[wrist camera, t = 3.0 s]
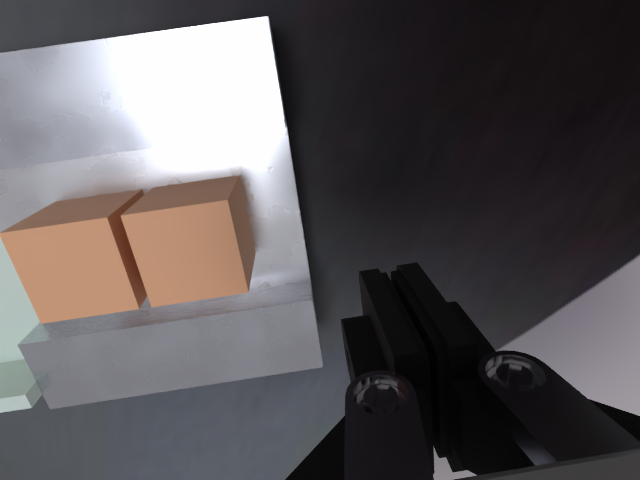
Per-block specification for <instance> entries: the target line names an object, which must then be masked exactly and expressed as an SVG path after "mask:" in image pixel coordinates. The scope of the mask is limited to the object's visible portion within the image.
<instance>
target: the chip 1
mask: <svg viewBox="0 0 640 480" xmlns="http://www.w3.org/2000/svg"><path fill="white" fill-rule="evenodd" d="M143 196H144V193H143V190H142V189H139V190H132V191H125V192H118V193H111V194H105V195H98V196H91V197H84V198H77V199H70V200H63V201H56V202H54V203H52V204H50V205H48V206H47V207H45V208H43V209H41V210H39V211H38V212H36V213H34V214H32V215H30V216H29V217H27V218H25V219H23V220H21V221H20V222H18V223H16V224H14V225H12V226H11V227H9V228H7V229H5V230H4V231H2V232H0V238H1V240H2V242H3V244H4V246H5V248H6V250H7V253H8V255H9V257H10V259H11V261H12V263H13V265H14V267H15V270H16V272H17V274H18V276H19V278H20V280H21V282H22V285H23V287H24V289H25V291H26V293H27V295H28V297H29V299H30V302H31V304H32V306H33V308H34V310H35V312H36V314H37V316H38V319H39V321H40V323H41V324H44V323H50V322H57V321H64V320H70V319H77V318H84V317H90V316H97V315H104V314H110V313H117V312H124V311H130V310H137V309H140V307H141V305H142V304H143V302H144V301H145V299H146V297H147V293H146V290H145V287H144V284H143V281H142V278H141V275H140V272H139V269H138V266H137V263H136V260H135V257H134V254H133V251H132V248H131V245H130V243H129V240H128V237H127V234H126V231H125V228H124V225H123V222H122V219H121V216H120V215H122V214H123V213H124V212H125V211H126V210H127V209H129V208H130V207H131V206H132V205H133V204H134V203H136V202H137V201H138V200H139V199H140V198H141V197H143Z"/></svg>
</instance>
